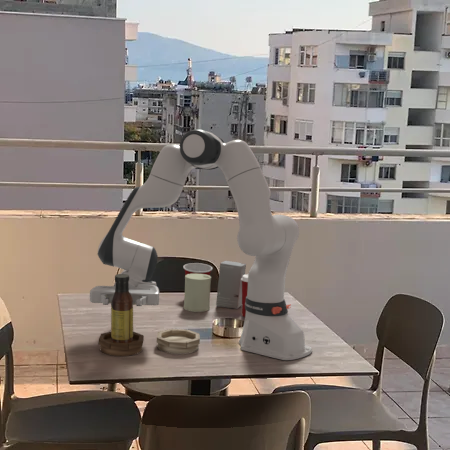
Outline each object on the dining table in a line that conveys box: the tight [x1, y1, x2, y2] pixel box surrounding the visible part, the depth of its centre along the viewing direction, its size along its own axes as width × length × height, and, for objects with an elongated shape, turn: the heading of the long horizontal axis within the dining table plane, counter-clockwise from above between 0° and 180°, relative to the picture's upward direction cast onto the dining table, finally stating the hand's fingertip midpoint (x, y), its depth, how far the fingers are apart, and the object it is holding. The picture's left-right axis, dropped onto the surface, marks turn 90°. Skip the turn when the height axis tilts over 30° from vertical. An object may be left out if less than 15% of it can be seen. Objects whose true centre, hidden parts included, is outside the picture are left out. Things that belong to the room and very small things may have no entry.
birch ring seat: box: [156, 328, 201, 355], centre depth 213 cm, size 12×12×4 cm
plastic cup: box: [183, 262, 213, 276], centre depth 268 cm, size 11×11×12 cm
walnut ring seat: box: [98, 331, 145, 357], centre depth 208 cm, size 12×12×4 cm
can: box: [183, 274, 212, 313], centre depth 254 cm, size 9×9×12 cm
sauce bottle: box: [110, 273, 134, 343], centre depth 207 cm, size 6×6×20 cm
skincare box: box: [215, 260, 247, 310], centre depth 259 cm, size 8×7×16 cm
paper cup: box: [241, 273, 248, 318], centre depth 248 cm, size 8×8×14 cm
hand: (122, 302), depth 206 cm, fingers open, 8 cm apart
